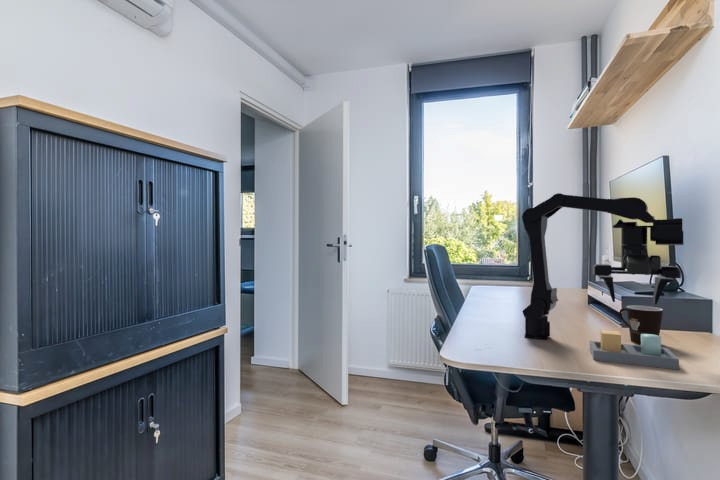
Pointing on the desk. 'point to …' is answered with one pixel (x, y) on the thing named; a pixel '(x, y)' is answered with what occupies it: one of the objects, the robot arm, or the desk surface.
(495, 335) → the desk surface
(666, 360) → the organizer
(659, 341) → the teal capsule
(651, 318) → the coffee mug
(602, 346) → the ochre block
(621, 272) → the robot arm
